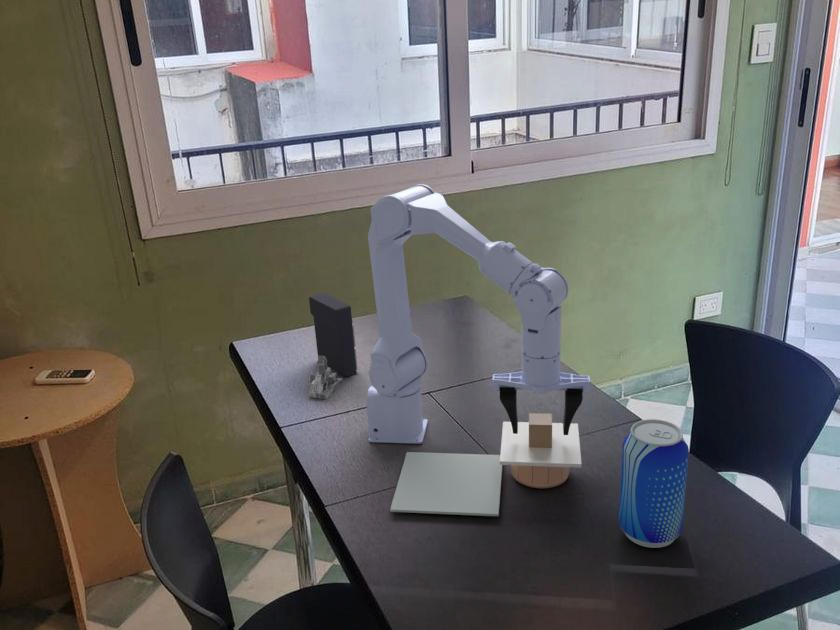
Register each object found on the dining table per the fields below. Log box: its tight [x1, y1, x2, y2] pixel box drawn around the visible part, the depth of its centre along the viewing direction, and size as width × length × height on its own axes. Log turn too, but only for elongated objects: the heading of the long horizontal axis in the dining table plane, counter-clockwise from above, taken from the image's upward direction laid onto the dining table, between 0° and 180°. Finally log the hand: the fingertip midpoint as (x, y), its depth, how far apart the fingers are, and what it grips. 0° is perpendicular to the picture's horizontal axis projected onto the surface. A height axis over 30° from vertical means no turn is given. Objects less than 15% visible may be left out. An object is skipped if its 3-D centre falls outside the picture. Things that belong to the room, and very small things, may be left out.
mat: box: [389, 451, 503, 517], centre depth 121 cm, size 16×16×1 cm
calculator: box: [308, 292, 358, 378], centre depth 161 cm, size 11×4×15 cm, turn 37°
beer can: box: [618, 418, 690, 549], centre depth 105 cm, size 8×8×16 cm
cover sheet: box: [499, 412, 583, 468], centre depth 120 cm, size 12×12×5 cm
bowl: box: [510, 465, 570, 489], centre depth 122 cm, size 9×9×5 cm
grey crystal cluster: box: [308, 355, 343, 400], centre depth 154 cm, size 9×9×8 cm
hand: (540, 431), depth 120 cm, fingers open, 7 cm apart
